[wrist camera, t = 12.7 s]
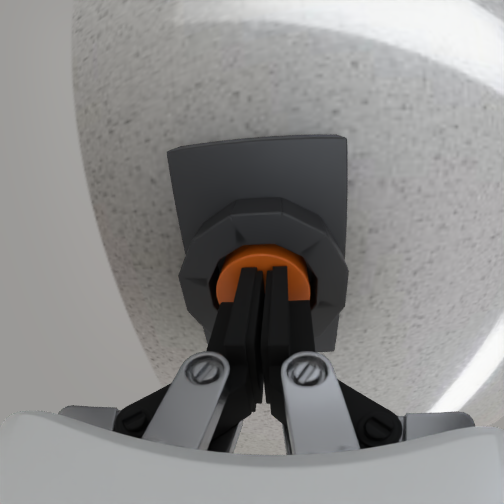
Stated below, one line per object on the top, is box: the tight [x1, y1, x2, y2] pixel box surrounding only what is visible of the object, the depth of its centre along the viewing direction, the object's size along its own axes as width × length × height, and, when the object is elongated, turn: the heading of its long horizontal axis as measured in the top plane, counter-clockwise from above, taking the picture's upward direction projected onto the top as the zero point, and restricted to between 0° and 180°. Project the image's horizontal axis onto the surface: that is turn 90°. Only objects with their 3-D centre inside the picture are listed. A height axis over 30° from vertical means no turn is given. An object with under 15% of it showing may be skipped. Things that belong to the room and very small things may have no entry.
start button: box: [216, 244, 310, 304], centre depth 11 cm, size 4×4×2 cm
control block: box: [167, 135, 349, 352], centre depth 12 cm, size 11×7×4 cm, turn 5°
